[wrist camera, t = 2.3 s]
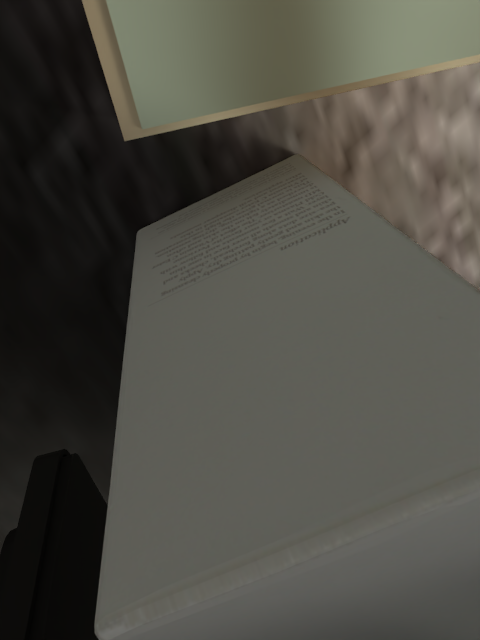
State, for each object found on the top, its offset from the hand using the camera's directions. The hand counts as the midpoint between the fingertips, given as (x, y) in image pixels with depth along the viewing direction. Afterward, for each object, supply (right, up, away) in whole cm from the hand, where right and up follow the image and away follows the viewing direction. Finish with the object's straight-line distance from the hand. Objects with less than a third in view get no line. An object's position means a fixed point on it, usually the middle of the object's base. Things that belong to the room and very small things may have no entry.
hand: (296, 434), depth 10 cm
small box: (0, +4, +8) cm, 9 cm away
